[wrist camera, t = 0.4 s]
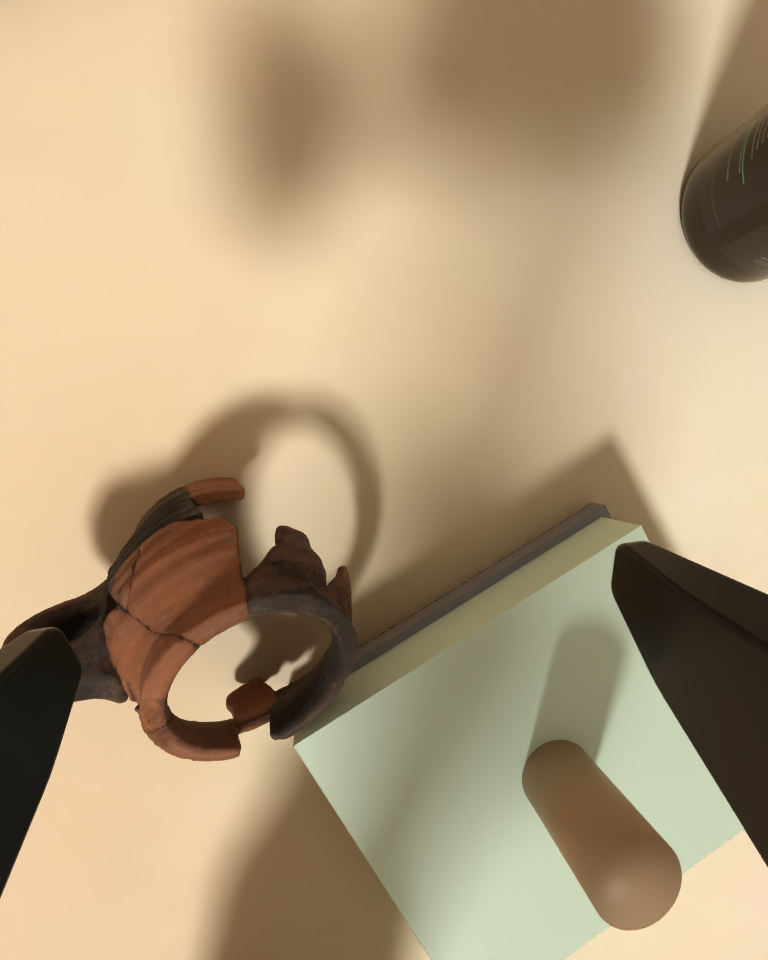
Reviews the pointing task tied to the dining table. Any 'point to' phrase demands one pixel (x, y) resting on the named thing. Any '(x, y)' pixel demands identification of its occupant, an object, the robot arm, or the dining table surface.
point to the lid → (520, 767)
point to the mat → (477, 584)
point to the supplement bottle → (731, 204)
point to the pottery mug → (201, 622)
